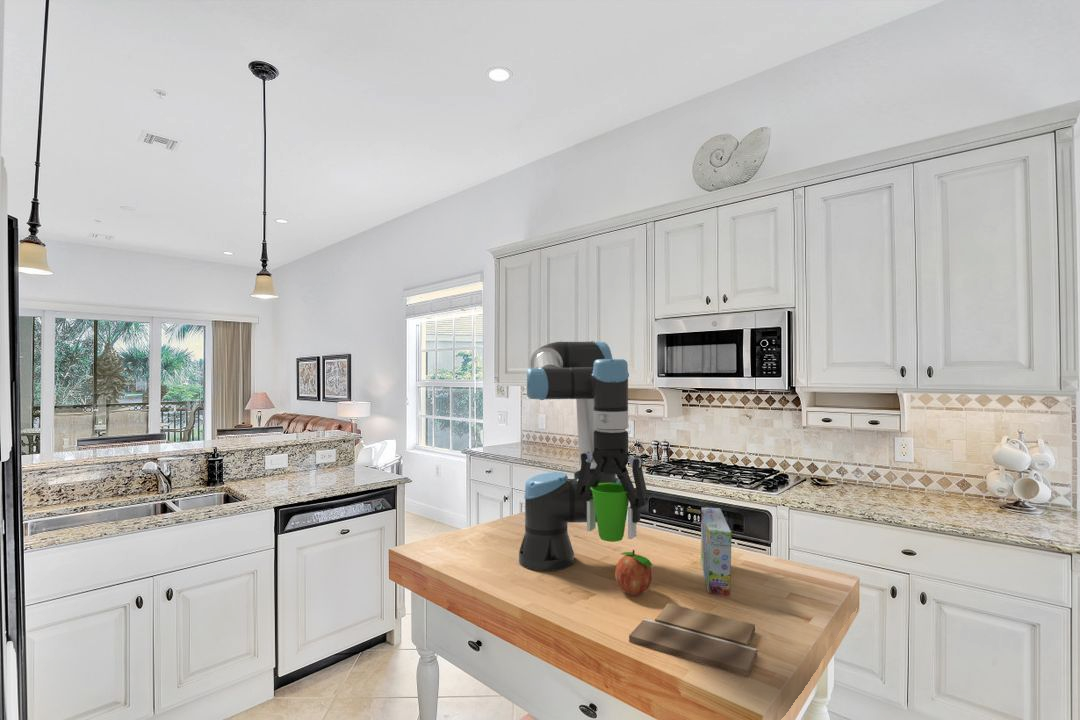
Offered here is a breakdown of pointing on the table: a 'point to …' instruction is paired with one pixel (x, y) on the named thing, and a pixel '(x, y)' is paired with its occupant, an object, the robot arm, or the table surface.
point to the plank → (707, 624)
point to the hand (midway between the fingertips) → (611, 533)
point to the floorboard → (695, 646)
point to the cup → (610, 510)
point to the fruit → (633, 573)
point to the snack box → (716, 551)
